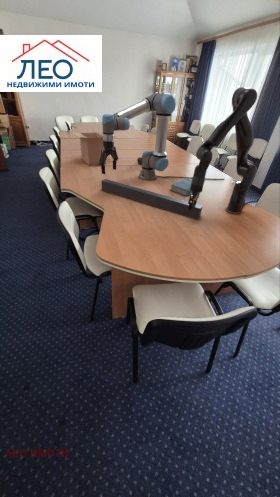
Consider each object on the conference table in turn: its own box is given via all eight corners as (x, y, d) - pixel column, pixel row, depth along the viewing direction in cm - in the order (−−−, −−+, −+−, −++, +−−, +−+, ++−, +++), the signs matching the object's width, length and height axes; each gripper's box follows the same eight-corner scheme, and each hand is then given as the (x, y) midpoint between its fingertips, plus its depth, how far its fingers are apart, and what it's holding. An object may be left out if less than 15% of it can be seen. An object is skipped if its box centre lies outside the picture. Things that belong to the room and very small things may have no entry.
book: (186, 184, 196) (187, 178, 193) (201, 190, 188) (203, 184, 185) (170, 190, 183) (171, 184, 180) (185, 196, 174) (187, 190, 171)
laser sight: (156, 166, 234) (157, 157, 228) (136, 164, 237) (136, 154, 231) (158, 164, 241) (159, 154, 236) (138, 162, 244) (138, 152, 238)
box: (116, 165, 229) (116, 136, 213) (83, 168, 214) (80, 137, 198) (102, 154, 259) (101, 128, 243) (71, 156, 244) (68, 129, 228)
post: (101, 190, 174) (101, 180, 170) (105, 188, 178) (105, 178, 173) (197, 219, 145) (200, 208, 140) (199, 216, 148) (202, 205, 144)
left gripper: (101, 144, 142) (102, 176, 155) (123, 139, 160) (122, 168, 172) (92, 142, 145) (94, 174, 157) (114, 137, 163) (114, 166, 175)
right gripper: (199, 187, 129) (193, 212, 138) (206, 181, 139) (200, 205, 149) (187, 184, 132) (182, 209, 141) (195, 178, 142) (190, 202, 151)
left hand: (109, 171), depth 165 cm, fingers open, 13 cm apart
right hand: (191, 207), depth 145 cm, fingers open, 8 cm apart
